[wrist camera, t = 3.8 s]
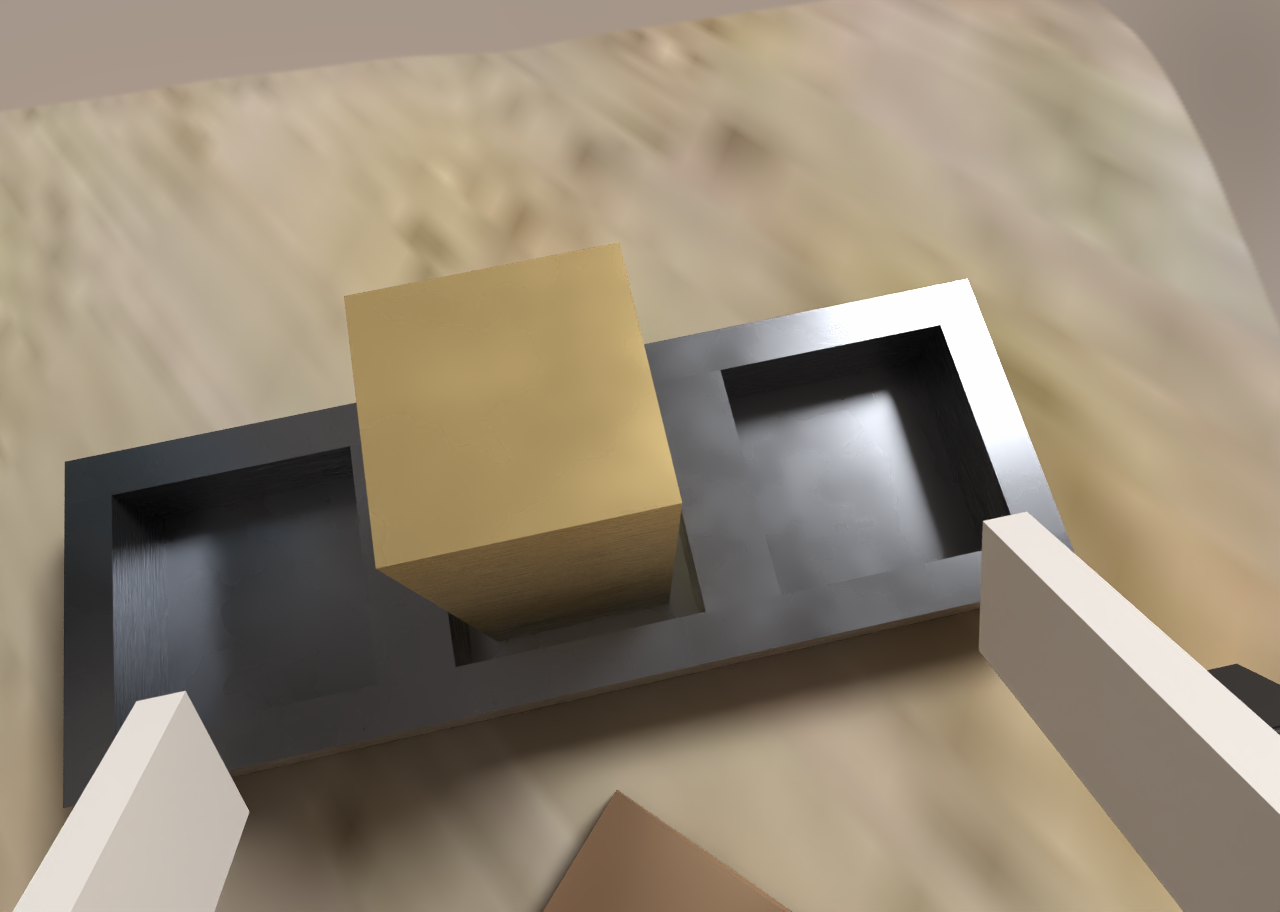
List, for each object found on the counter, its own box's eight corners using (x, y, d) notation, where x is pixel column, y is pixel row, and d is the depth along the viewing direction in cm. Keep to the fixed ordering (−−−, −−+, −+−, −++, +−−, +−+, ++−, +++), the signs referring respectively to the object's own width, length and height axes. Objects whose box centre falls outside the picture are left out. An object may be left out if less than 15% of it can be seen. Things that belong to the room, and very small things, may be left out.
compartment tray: (136, 798, 23) (63, 808, 20) (129, 491, 26) (64, 461, 23) (1033, 596, 24) (1084, 577, 22) (934, 326, 27) (967, 279, 24)
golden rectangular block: (497, 641, 24) (375, 567, 13) (471, 477, 25) (344, 296, 15) (669, 603, 24) (681, 503, 14) (632, 443, 26) (619, 242, 15)
